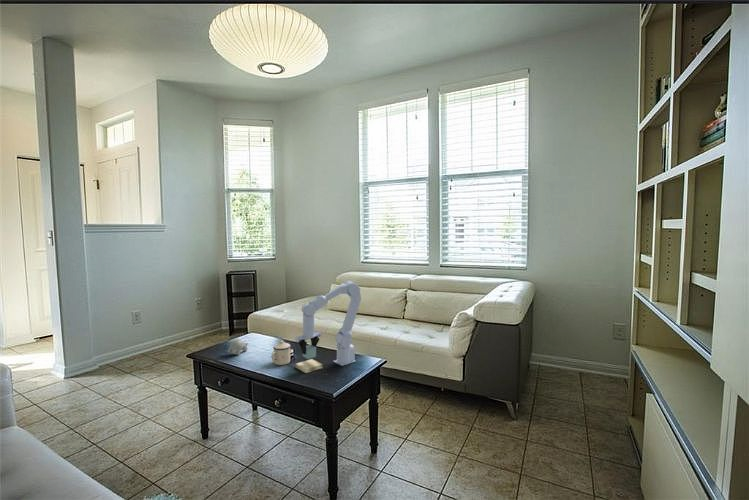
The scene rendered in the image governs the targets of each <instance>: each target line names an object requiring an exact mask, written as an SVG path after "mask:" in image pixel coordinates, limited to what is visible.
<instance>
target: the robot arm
mask: <svg viewBox="0 0 749 500" xmlns="http://www.w3.org/2000/svg"><path fill="white" fill-rule="evenodd" d="M339 295H348V297H349V298H350V301H349V304H348V307H347V311H346V314H345V316H344V320H343V324H342V327H341V328H339V330H338V332H337V333H336V334H335V338H334V339H335V342H336V360H335V359H334V360H333V362H334V363H335V364H337V365H340V366H346V365H349V364H352V363H356V360H355V359H356V358H355V357H356V356H355V355H356V350H355V346H354V345H353V344H352V342H353V341H352V336H353V333H352V330H353V327H354V323H355V320H356V317H357V313H358V311H359V307H360V303H361V300H362V295H361V288H360V286H359V284H358V283H357V282H356V283H355V282H353V281H351V280H345V281H344V282H342V283H340V284H339V285H338V286H336V287H335V288H334V289H332V290H331V291H329V292H327V293H326V294H325V295H322V294H320V295H316V298H315V299H313V300H310V301H308V303H304V304H303V305H302V307H301V312H302V335H300V336H297V337H295V342H296V343H298V344H299V346H300V349H301V353H302V355H303V354H306V346H308V342H307V341H308V340H310V343H311V344H310V345H313V346H315V347H316V348H317V345H318V343H319V342H320V338H321V337H322V332H321V331H317V332H315V314H316V312H317V311H319V310H320V309H322V308H323V307H325V306H327V305H328V302H330V300H331V301H332V299H334V298H335V297H338V296H339ZM319 337H320V338H319ZM306 340H307V341H306Z"/></svg>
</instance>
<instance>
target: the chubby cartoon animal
mask: <svg viewBox="0 0 749 500" xmlns="http://www.w3.org/2000/svg"><path fill="white" fill-rule="evenodd" d="M248 349H249V346H248V342H246V343H245V341H242V340H241V339H236V338H235V339H233V340H232V341H231V342H230V343H229V348H228V349H227V351H226V352H227V353H228V354H232V355H235V356H239V355H240V354H241V351H242V352H244V353H245V352H247V351H248Z"/></svg>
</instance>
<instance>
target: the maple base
mask: <svg viewBox="0 0 749 500" xmlns="http://www.w3.org/2000/svg"><path fill="white" fill-rule="evenodd" d="M295 368H296V369H297V370H299V371H301V372H303V373H304V374H308V373H311V372H314V371H318V370H320V369H321V370H322V369H323V363H321V362H319V361H317V360H315V359H313V358H310V359H307V360H304V361H300V362H297V363H295Z"/></svg>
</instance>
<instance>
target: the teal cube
mask: <svg viewBox="0 0 749 500" xmlns="http://www.w3.org/2000/svg"><path fill="white" fill-rule="evenodd" d="M302 357H304V358H305V359H307V360H310V359H313V358H316V357H317V346H316V347H315V346H313V345H311V344H307V345H306V354H303V353H302Z"/></svg>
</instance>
